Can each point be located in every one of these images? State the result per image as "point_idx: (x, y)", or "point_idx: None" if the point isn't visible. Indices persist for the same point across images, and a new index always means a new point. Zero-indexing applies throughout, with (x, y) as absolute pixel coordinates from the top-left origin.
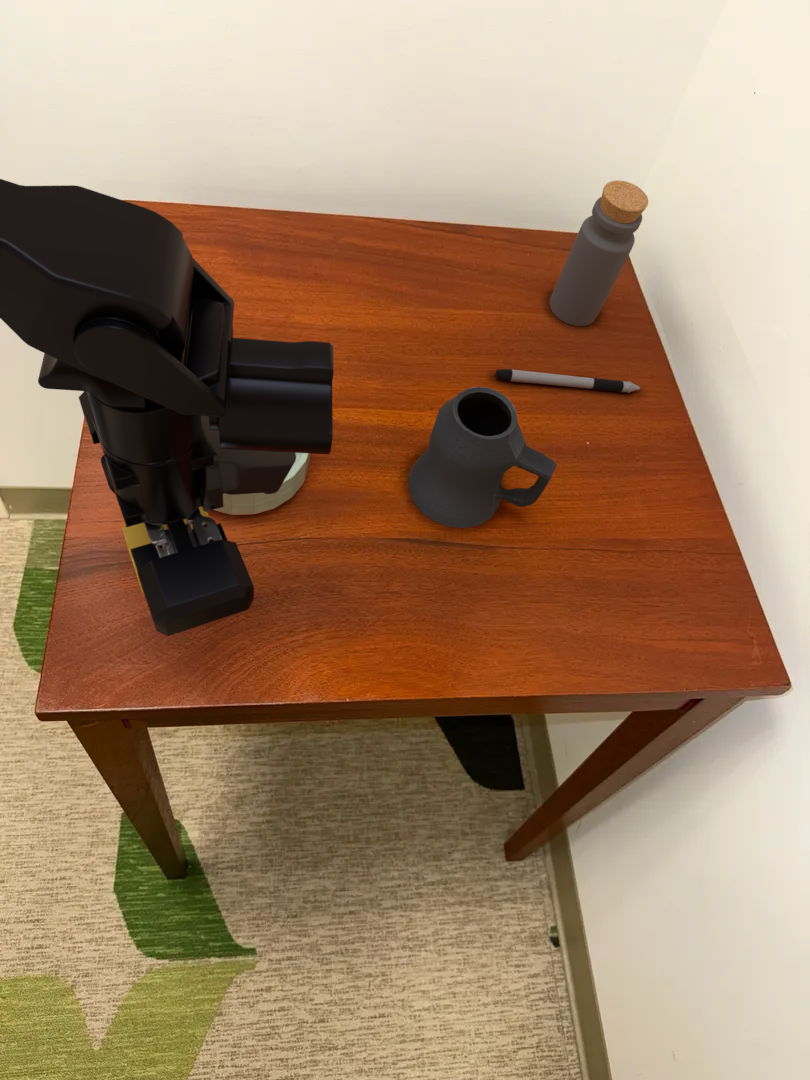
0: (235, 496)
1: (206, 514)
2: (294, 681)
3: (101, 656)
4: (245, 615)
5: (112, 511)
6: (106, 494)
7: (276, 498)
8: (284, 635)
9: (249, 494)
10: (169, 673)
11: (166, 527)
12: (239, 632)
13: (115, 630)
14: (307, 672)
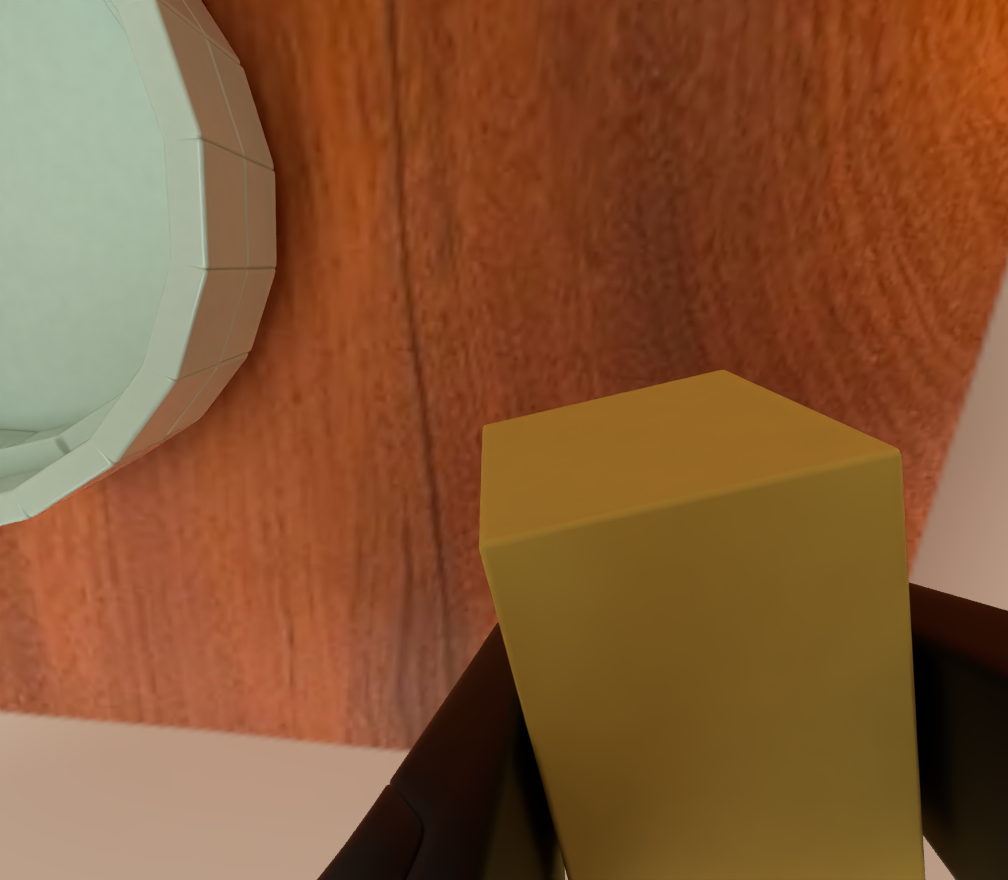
0: (218, 244)
1: (585, 532)
2: (1000, 103)
3: None
4: (701, 258)
5: (253, 650)
6: (187, 666)
7: (205, 30)
8: (814, 116)
9: (207, 165)
10: None
11: (659, 803)
12: (760, 286)
13: None
14: (984, 43)
